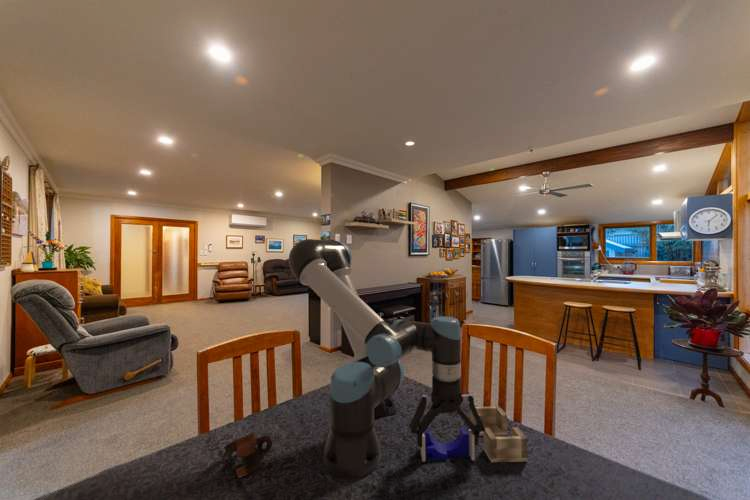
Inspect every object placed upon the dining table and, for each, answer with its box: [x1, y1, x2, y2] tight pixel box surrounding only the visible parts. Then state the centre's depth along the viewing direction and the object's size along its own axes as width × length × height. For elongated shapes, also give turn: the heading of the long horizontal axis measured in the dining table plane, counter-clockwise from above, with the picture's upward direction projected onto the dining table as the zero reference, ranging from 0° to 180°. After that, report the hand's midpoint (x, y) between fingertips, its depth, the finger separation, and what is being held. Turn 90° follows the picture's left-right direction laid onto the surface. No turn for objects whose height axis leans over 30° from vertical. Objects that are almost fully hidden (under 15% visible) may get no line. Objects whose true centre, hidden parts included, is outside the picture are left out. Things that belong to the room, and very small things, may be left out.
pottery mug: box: [221, 432, 273, 477], centre depth 78 cm, size 12×10×8 cm
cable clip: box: [424, 427, 470, 461], centre depth 80 cm, size 12×4×6 cm, turn 87°
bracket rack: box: [469, 406, 528, 463], centre depth 85 cm, size 10×16×6 cm, turn 2°
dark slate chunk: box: [374, 395, 398, 418], centre depth 109 cm, size 15×22×5 cm
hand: (447, 457), depth 79 cm, fingers open, 12 cm apart
